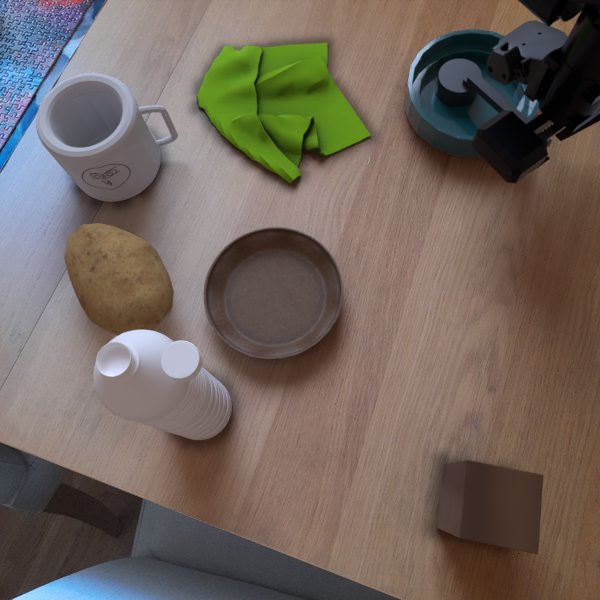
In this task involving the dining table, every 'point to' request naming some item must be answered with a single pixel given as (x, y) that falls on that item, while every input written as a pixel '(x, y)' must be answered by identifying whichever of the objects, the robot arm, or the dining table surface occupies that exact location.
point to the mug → (101, 136)
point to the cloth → (279, 104)
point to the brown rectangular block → (491, 505)
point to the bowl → (456, 119)
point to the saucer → (273, 293)
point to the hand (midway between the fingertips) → (535, 154)
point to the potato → (118, 278)
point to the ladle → (470, 87)
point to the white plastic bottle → (161, 385)
